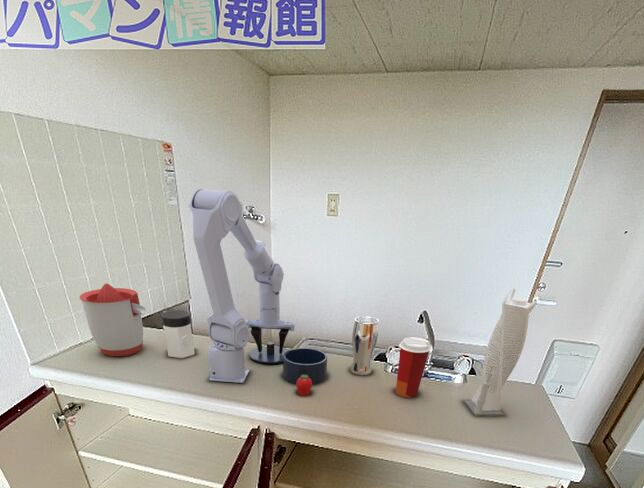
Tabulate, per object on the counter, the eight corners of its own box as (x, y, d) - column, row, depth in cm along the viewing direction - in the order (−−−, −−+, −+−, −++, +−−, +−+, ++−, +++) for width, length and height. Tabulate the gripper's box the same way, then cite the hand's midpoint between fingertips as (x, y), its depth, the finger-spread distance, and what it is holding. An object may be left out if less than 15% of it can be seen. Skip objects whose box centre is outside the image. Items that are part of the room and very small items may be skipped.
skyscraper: (461, 399, 105) (494, 286, 89) (491, 399, 105) (529, 287, 89) (475, 415, 98) (513, 297, 82) (507, 415, 99) (551, 297, 82)
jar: (175, 360, 121) (168, 320, 114) (162, 352, 126) (154, 314, 119) (201, 353, 126) (196, 314, 119) (187, 346, 131) (181, 308, 124)
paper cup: (422, 389, 109) (433, 338, 101) (419, 401, 103) (430, 349, 95) (393, 384, 111) (402, 334, 103) (389, 396, 105) (397, 344, 97)
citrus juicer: (144, 361, 120) (129, 291, 109) (86, 359, 120) (65, 289, 109) (160, 342, 133) (148, 278, 121) (107, 340, 133) (90, 276, 121)
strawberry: (295, 395, 104) (295, 379, 102) (297, 388, 108) (297, 372, 105) (311, 396, 104) (311, 380, 101) (312, 389, 107) (313, 373, 105)
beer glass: (372, 377, 115) (379, 325, 106) (347, 374, 116) (352, 322, 107) (373, 367, 120) (380, 317, 112) (350, 365, 121) (355, 315, 113)
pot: (280, 383, 110) (279, 363, 107) (286, 365, 120) (286, 346, 117) (324, 386, 109) (325, 366, 106) (327, 368, 119) (328, 349, 116)
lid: (245, 363, 120) (244, 349, 118) (254, 347, 131) (253, 334, 129) (288, 366, 119) (288, 352, 117) (294, 350, 130) (294, 337, 128)
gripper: (296, 304, 119) (295, 348, 127) (248, 301, 120) (250, 345, 128) (293, 311, 113) (292, 357, 121) (242, 308, 115) (245, 354, 122)
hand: (270, 352), depth 124 cm, fingers open, 6 cm apart
